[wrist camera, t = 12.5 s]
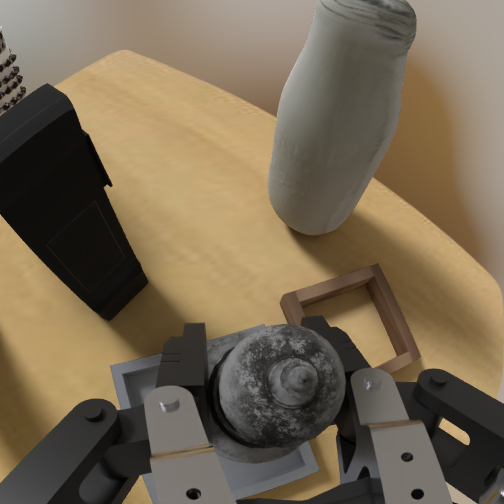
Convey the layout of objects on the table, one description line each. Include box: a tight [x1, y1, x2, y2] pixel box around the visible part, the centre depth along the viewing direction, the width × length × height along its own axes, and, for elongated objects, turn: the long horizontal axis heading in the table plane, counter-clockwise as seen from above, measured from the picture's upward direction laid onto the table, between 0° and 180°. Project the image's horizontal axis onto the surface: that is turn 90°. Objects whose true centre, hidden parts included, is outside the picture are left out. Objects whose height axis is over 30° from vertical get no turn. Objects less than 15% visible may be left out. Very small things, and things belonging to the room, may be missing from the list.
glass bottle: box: [268, 0, 416, 235], centre depth 26 cm, size 10×10×28 cm
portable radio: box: [0, 84, 148, 321], centre depth 22 cm, size 8×6×25 cm
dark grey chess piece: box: [207, 324, 346, 464], centre depth 10 cm, size 6×6×12 cm
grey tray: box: [110, 324, 320, 504], centre depth 25 cm, size 15×15×2 cm
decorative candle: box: [0, 27, 27, 116], centre depth 29 cm, size 9×9×25 cm
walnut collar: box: [280, 263, 421, 374], centre depth 31 cm, size 11×11×2 cm
